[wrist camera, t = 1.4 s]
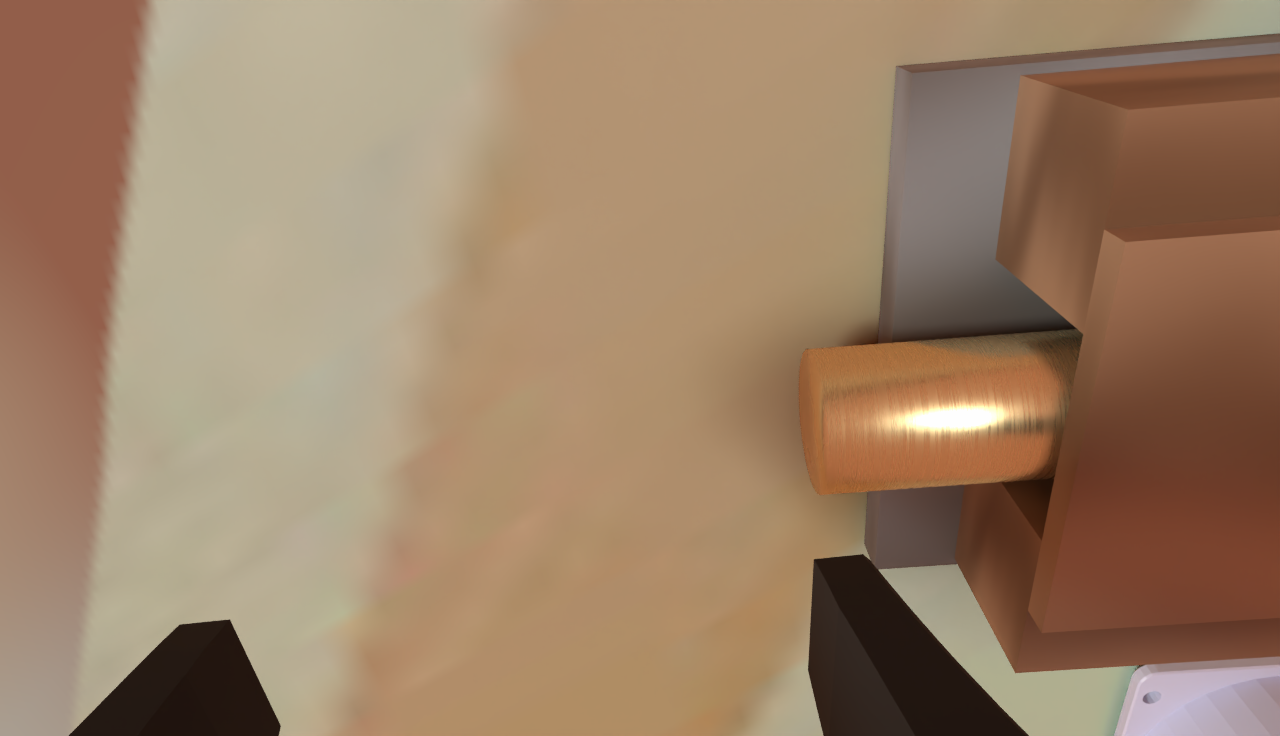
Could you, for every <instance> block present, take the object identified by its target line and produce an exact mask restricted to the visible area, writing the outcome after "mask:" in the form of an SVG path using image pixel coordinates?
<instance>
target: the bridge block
mask: <svg viewBox="0 0 1280 736" xmlns="http://www.w3.org/2000/svg"><path fill="white" fill-rule="evenodd" d="M1069 329H1078V330H1079V331H1080V332H1081V333H1083V338H1082V343H1081V348H1080V353H1079V358H1078V363H1077V368H1076V373H1075V378H1074V383H1073V388H1072V393H1071V398H1070V403H1069V408H1068V413H1067V418H1066V423H1065V428H1064V433H1063V438H1062V443H1061V448H1060V453H1059V458H1058V463H1057V468H1056V473H1055V478H1053V479H1039V480H1025V481H1010V482H996V483H981V484H967V485H953V486H938V487H924V488H909V489H895V490H881V491H868V498H867V513H866V527H865V542H864V544H865V546H866V549H867V551H868V554H869V557H870V559H871V562H872V563H873V564H874V566H875V567H876V568H877V569H890V568H905V567H920V566H935V565H950V564H958V566H959V568H960V570H961V571H962V573H963V575H964V577H965V579H966V581H967V583H968V585H969V586H970V588H971V590H972V592H973V594H974V596H975V598H976V600H977V602H978V603H979V605H980V607H981V609H982V611H983V613H984V615H985V617H986V619H987V620H988V622H989V624H990V626H991V628H992V630H993V632H994V634H995V635H996V637H997V639H998V641H999V643H1000V645H1001V647H1002V649H1003V651H1004V652H1005V654H1006V656H1007V658H1008V660H1009V662H1010V664H1011V666H1012V668H1013V669H1014V671H1015V673H1022V672H1038V671H1054V670H1070V669H1087V668H1103V667H1119V666H1135V665H1151V664H1167V663H1183V662H1199V661H1215V660H1231V659H1247V658H1263V657H1280V34H1269V35H1257V36H1245V37H1233V38H1222V39H1210V40H1198V41H1186V42H1175V43H1163V44H1151V45H1139V46H1128V47H1116V48H1104V49H1093V50H1081V51H1069V52H1057V53H1046V54H1034V55H1022V56H1010V57H999V58H987V59H975V60H963V61H952V62H940V63H928V64H916V65H905V66H896V80H895V95H894V109H893V124H892V139H891V154H890V169H889V184H888V199H887V214H886V229H885V244H884V259H883V274H882V289H881V304H880V318H879V333H878V344H882V343H895V342H909V341H922V340H936V339H949V338H962V337H976V336H989V335H1002V334H1016V333H1029V332H1042V331H1056V330H1069Z"/></svg>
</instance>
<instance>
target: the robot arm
mask: <svg viewBox="0 0 1280 736" xmlns="http://www.w3.org/2000/svg"><path fill="white" fill-rule="evenodd" d="M808 671H809V676H810V680H811V684H812V689H813V693H814V697H815V701H816V706H817V710H818V714H819V718H820V723H821V727H822V731H823V735H824V736H1029V735H1028V734H1027V733H1026V732H1025V731H1024V730H1023V729H1022V728H1021V727H1020V726H1019V725H1018V724H1017V723H1016V722H1015V721H1014V720H1013V719H1012V718H1011V717H1010V716H1009V715H1008V714H1007V713H1006V712H1005V711H1004V710H1003V709H1002V708H1001V707H1000V706H999V705H998V704H997V703H996V702H995V701H994V700H993V699H992V698H991V697H990V696H989V695H988V693H987V692H986V691H985V690H984V689H983V688H982V687H981V686H980V685H979V684H978V683H977V682H976V681H975V680H974V679H973V678H972V677H971V676H970V675H969V673H968V672H967V671H966V670H965V669H964V668H963V667H962V666H961V665H960V664H959V663H958V662H957V661H956V660H955V659H954V657H953V656H952V655H951V654H950V653H949V652H948V651H947V650H946V649H945V648H944V646H943V645H942V644H941V643H940V642H939V641H938V640H937V639H936V637H935V636H934V635H933V634H932V633H931V632H930V631H929V630H928V628H927V627H926V626H925V625H924V624H923V623H922V622H921V620H920V619H919V618H918V617H917V616H916V615H915V614H914V612H913V611H912V610H911V609H910V608H909V606H908V605H907V604H906V603H905V602H904V601H903V599H902V598H901V597H900V596H899V595H898V593H897V592H896V591H895V590H894V589H893V588H892V586H891V585H890V584H889V583H888V581H887V580H886V579H885V578H884V577H883V575H882V574H881V573H880V572H879V570H878V569H877V568H876V567H875V566H874V564H873V563H872V562H871V561H870V560H869V559H868V558H867V557H865V556H864V555H863V554H862V555H852V556H842V557H833V558H823V559H814V569H813V588H812V607H811V626H810V645H809V664H808ZM280 727H281V726H280V724H279V721H278V719H277V717H276V715H275V713H274V711H273V709H272V707H271V705H270V703H269V701H268V698H267V696H266V694H265V692H264V690H263V688H262V686H261V684H260V682H259V680H258V678H257V676H256V673H255V671H254V669H253V667H252V665H251V663H250V661H249V659H248V657H247V655H246V653H245V650H244V648H243V646H242V644H241V642H240V640H239V638H238V636H237V634H236V632H235V630H234V628H233V625H232V623H231V621H230V620H221V621H211V622H202V623H192V624H182V625H179V626H178V627H177V628H176V629H175V630H174V631H173V632H172V633H171V634H169V635H168V636H167V637H166V638H165V639H164V640H163V641H162V642H161V643H160V644H159V645H158V646H157V647H156V648H155V649H154V650H153V651H152V652H151V653H150V654H149V655H148V656H147V657H146V658H145V659H144V660H143V661H142V662H141V663H140V664H139V665H138V666H137V667H136V668H135V669H134V670H133V671H132V672H131V673H130V674H129V675H128V676H127V677H126V678H125V679H124V680H123V681H122V682H121V683H120V684H119V685H118V686H117V687H116V688H115V689H114V690H113V691H112V692H111V693H110V694H109V695H108V696H107V697H106V698H105V699H104V700H103V701H102V702H101V704H100V705H99V706H98V707H97V708H96V709H95V710H94V711H93V712H92V713H91V714H90V715H89V716H88V717H87V718H86V719H85V720H84V721H83V722H82V723H81V724H80V725H79V726H78V727H77V728H76V729H75V730H74V731H73V732H72V733H71V734H70V735H69V736H279V731H280ZM1114 736H1280V657H1263V658H1247V659H1231V660H1215V661H1199V662H1183V663H1167V664H1151V665H1144V666H1141V667H1139V668H1138V669H1137V670H1136V671H1135V672H1134V673H1133V675H1132V677H1131V680H1130V684H1129V687H1128V690H1127V694H1126V697H1125V701H1124V704H1123V707H1122V711H1121V714H1120V717H1119V721H1118V724H1117V727H1116V731H1115V734H1114Z"/></svg>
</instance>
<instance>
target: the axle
mask: <svg viewBox="0 0 1280 736" xmlns="http://www.w3.org/2000/svg"><path fill="white" fill-rule="evenodd" d="M1082 338H1083V333H1081V332H1080V331H1079V330H1078V329H1069V330H1056V331H1042V332H1029V333H1016V334H1002V335H989V336H976V337H962V338H949V339H936V340H922V341H909V342H895V343H882V344H869V345H855V346H842V347H829V348H815V349H806V350H805V351H804V353H803V355H802V359H801V364H800V373H799V411H800V425H801V434H802V442H803V448H804V454H805V460H806V464H807V469H808V473H809V476H810V479H811V482H812V485H813V487H814V489H815V491H816V492H817V494H819V495H823V494H838V493H852V492H866V491H881V490H895V489H909V488H924V487H938V486H953V485H967V484H981V483H996V482H1010V481H1025V480H1039V479H1053V478H1055V473H1056V468H1057V463H1058V458H1059V453H1060V448H1061V443H1062V438H1063V433H1064V428H1065V423H1066V418H1067V413H1068V408H1069V403H1070V398H1071V393H1072V388H1073V383H1074V378H1075V373H1076V368H1077V363H1078V358H1079V353H1080V348H1081V343H1082Z"/></svg>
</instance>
